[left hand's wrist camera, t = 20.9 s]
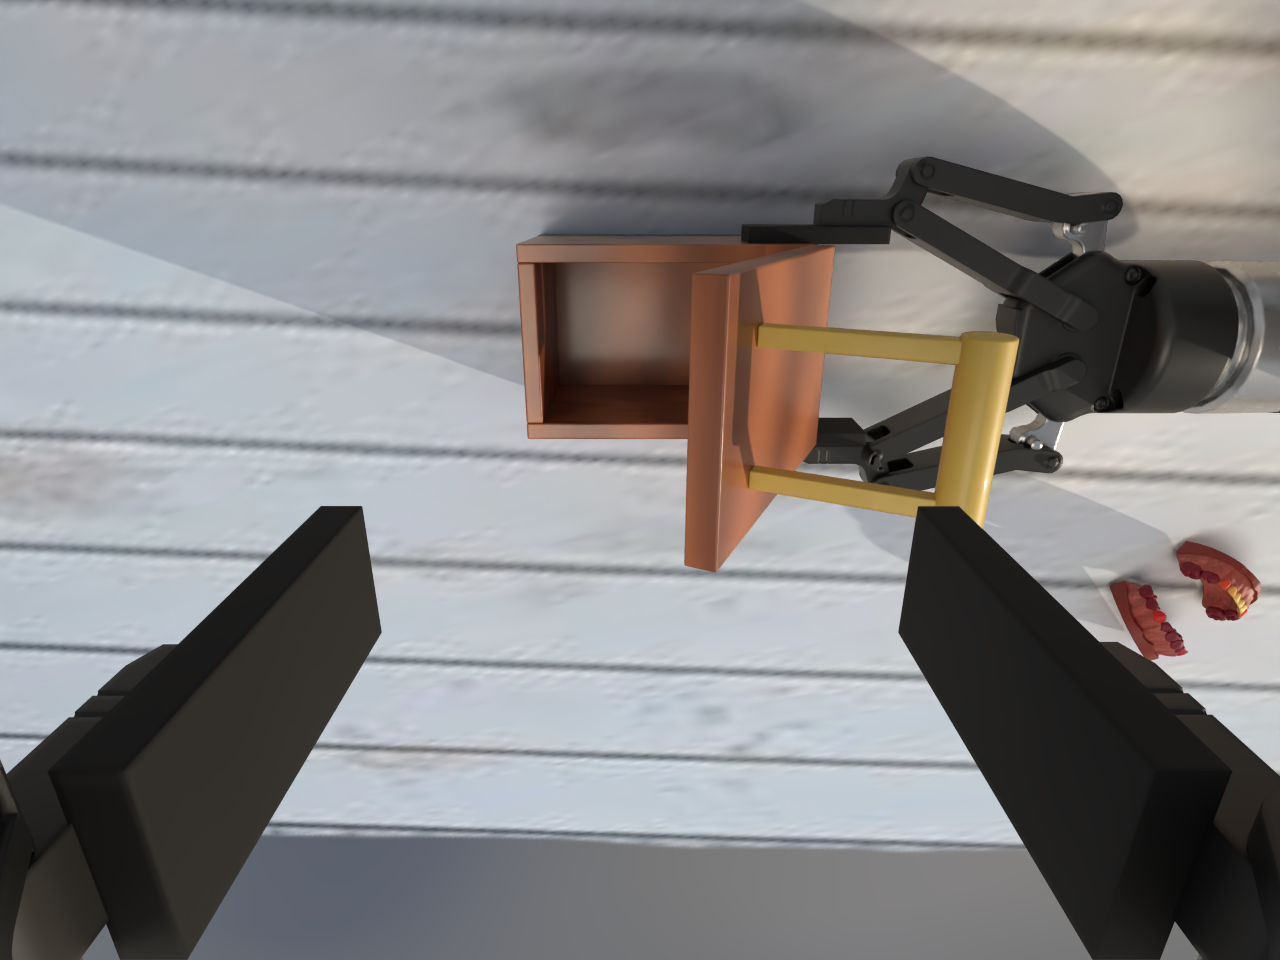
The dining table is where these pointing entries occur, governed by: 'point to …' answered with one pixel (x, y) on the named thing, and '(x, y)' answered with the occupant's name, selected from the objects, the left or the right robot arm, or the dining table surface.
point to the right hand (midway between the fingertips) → (739, 338)
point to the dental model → (1222, 598)
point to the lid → (811, 400)
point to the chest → (614, 330)
